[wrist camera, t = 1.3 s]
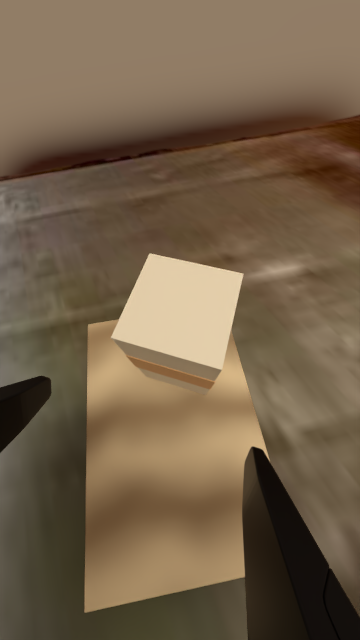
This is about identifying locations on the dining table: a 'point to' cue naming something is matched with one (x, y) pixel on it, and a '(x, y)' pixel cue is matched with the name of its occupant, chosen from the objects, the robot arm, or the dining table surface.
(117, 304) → the dining table surface
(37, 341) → the dining table surface
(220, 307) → the carton
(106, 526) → the board
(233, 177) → the dining table surface
